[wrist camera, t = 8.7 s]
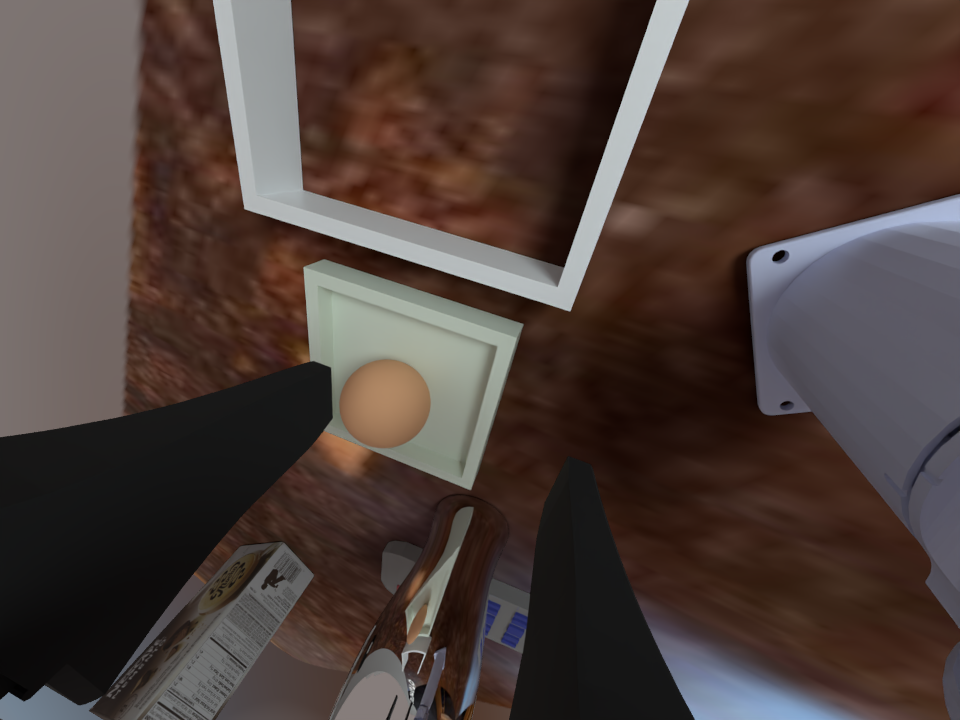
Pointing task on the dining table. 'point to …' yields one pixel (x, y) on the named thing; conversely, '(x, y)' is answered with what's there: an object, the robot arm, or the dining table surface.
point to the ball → (385, 403)
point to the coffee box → (211, 640)
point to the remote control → (503, 603)
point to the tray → (414, 360)
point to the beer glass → (431, 624)
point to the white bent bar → (279, 194)
